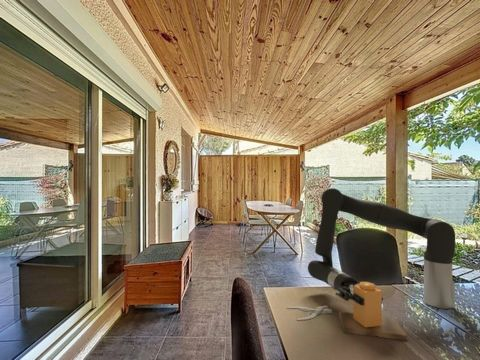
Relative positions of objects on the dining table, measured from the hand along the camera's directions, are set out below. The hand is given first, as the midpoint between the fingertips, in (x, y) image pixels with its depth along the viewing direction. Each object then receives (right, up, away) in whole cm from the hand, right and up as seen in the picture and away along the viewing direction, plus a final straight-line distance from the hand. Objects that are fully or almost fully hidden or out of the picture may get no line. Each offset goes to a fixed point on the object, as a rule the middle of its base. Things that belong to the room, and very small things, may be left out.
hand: (372, 301), depth 87 cm
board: (0, -10, +2) cm, 10 cm away
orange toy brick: (-1, -8, +2) cm, 8 cm away
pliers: (-16, -10, +12) cm, 23 cm away
